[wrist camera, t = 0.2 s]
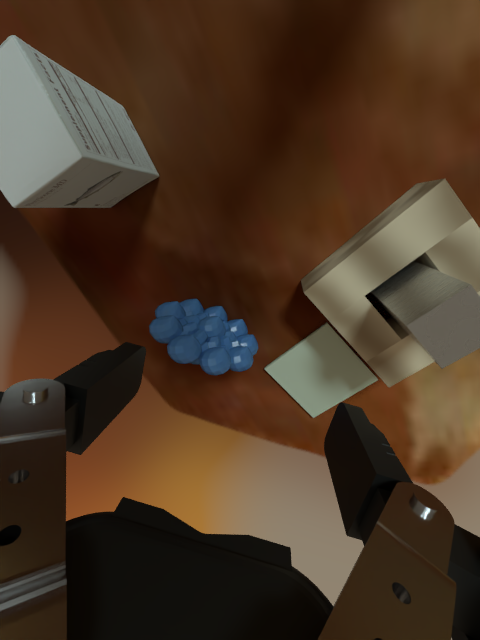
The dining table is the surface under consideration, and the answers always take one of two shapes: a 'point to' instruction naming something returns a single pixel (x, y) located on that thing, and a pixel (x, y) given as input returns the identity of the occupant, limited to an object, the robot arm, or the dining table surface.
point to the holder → (386, 260)
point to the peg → (433, 311)
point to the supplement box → (63, 137)
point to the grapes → (203, 336)
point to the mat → (320, 371)
